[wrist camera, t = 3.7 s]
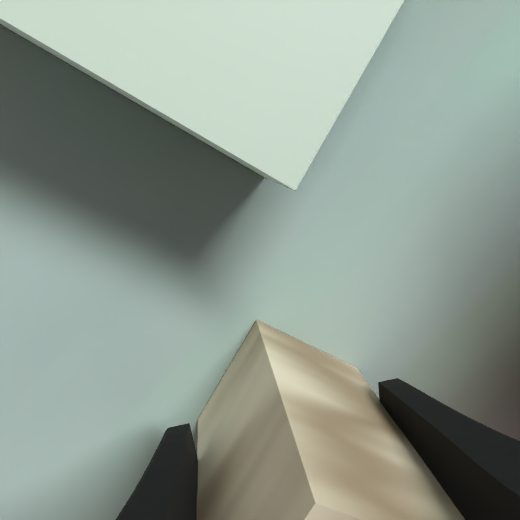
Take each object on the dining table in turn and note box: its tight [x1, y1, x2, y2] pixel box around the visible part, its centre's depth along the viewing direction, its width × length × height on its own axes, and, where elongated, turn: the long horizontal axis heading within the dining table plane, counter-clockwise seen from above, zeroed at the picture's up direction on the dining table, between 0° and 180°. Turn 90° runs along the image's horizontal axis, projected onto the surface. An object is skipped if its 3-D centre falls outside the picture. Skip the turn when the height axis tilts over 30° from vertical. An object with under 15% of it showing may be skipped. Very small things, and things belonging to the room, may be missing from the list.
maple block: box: [196, 320, 465, 520], centre depth 10 cm, size 4×4×7 cm
